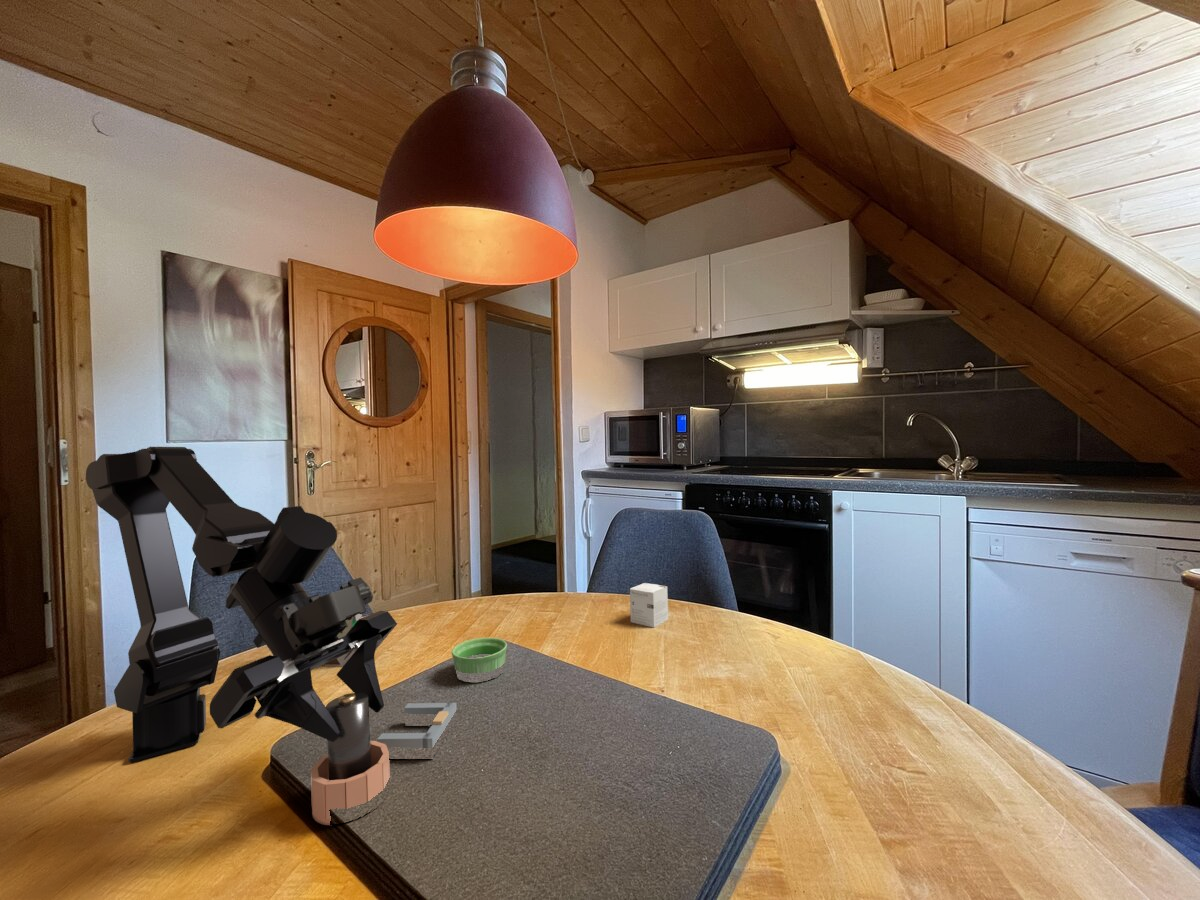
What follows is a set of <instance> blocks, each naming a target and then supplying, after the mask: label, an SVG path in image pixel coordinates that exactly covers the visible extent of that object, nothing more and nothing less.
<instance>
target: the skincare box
mask: <svg viewBox="0 0 1200 900" xmlns="http://www.w3.org/2000/svg"><path fill="white" fill-rule="evenodd" d="M668 592H669V591H668V586H666V585H660V584H657V583H648V582H643V583H641V584H638V585H636V586H633V587H631V588H629V607H630V608H629V609H630V613H629V614H630V623H632V624H637V625H641V626H646V627H650V628H657V627H658V626H660V625H661V624H663V623H665V622H667V621H669V612H668V611H669V605H668V604H669V603H668V602H669V601H668Z"/></svg>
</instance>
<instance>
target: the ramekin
mask: <svg viewBox="0 0 1200 900" xmlns="http://www.w3.org/2000/svg"><path fill="white" fill-rule="evenodd" d="M507 649H508V644H507V642H506V641H505V640H504V639H502V638H498V637H476V638H472V639H471V638H470V639H467V640H465V641H463V642H460V643H458V644H456V645H455V646H454V647H453V648H452V650H451V656H452V659H453V665H454V669H455V668H456V670H458V671H459V672H462V673H469V674H470V673H476V674H478V673H485V672H490V671H493V670H495V669H497V668H499V667H501V666H502V665H503V664H504V663H505V664H506V652H507ZM479 654H492V655H488V656H484V657H476V658H467V657H469V656H472V655H479Z"/></svg>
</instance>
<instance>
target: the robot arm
mask: <svg viewBox="0 0 1200 900" xmlns="http://www.w3.org/2000/svg"><path fill="white" fill-rule="evenodd" d="M85 482H86V485H87V487H88V488H89V489H91V491H92V493H93V497H94V499H95V503H96V506H98V507H99V508H100V509H102V510H103V511H104V512H105V513H106V514H108V515H109V516H111V517H112V518H113V519H115V520H117V522H118V527H119V530H120V535H121V540H122V545H123V548H124V554H125V559H126V562H127V568H128V572H129V578H130V581H131V588H132V590H133V596H134V601H135V605H136V609H137V614H138V619H139V624H140V628H139V630H138V632H137V634H136V635H135V638H134V639H133V642H132V644H131V646H130V648H129V649H128V653H127V654H128V664H129V666H128V667H127V668H126V670H125V672H124V673H123V675H122V677H121V678H120V680H119V681H118V683H117V685H116V686H115V688H114V690H113V695H114V699H115V705H116V708H118V709H122V710H124V711H128V712H131V713H132V716H131V717H132V718H131V719H132V751H131V753H130V755H129V758H128V762H129V763H134V762H139V761H142V760H145V759H149V758H152V757H157V756H159V755H163V754H166V753H170V752H174V751H177V750H181V749H184V748H187V747H191V746H194V745H197V744H198V743H199V742H200V736H201V734H202V733H203V732H204V731H205V729H206V725H207V709H206V708H207V707H206V706H207V705H206V704H207V702H206V694H204V693H203V694H201V688H203V687H206V686H208V685H212V684H214V683H215V679H216V675H217V670H218V666H219V661H220V657H221V650H220V647H219V643H218V641H217V639H216V636H215V632H214V625H213V622H212V620H211V619H210V618H209V617H208V616H205V617H202V618H200V617H199V616H198V615H196V614H195V613H194V612H192V611H191V610H190V607H189V603H188V599H187V594H186V589H185V586H184V582H183V581H184V580H183V578H182V574H181V569H180V565H179V561H178V557H177V556H178V555H177V553H176V548H175V544H174V539H173V534H172V531H171V527H170V522H169V517H168V514H167V513H168V512H167V507H168V506H169V504H171V505H172V506H173V508H174V509H175V510H176V511H177V512H178V514H179V515H180V516H181V517H182V518H183V519H184V520H185V522H186V523H187V524H188V525H189V527H190V528H191V529H192V532H193V533H194V535H195V537H194V540H193V544H192V547H191V550H192V552H193V554H194V556H195V557H196V562H198V565H199V566H200V567H201V568H202V569H203V571H204V572H205V573H206V574H208V575H209V576H211V577H214V578H215V577H223V576H228V575H233V574H237V573H241V572H243V573H241V575H240V576H239V577H238V579H237V580H236V581H235V582H233V583H231V584H230V585H229V593H228V595H227V597H226V599H225V608H226V609H228V610H231V609H233V608H236V607H238V608H239V607H240V608H241V609H242V611H243V612H244V613H245V615H246V616H247V618H248V620H249V621H250V623H251V624H252V626H253V627H254V629H255V630H256V632H257V635H256V636H255V638H253V640H252V642H253V643H254V646H255V647H256V648H257V649H260V648H261V647H264V646H267V648H268V650H269V651H270V653H271V655H270V654H269V655H267V656H264V657H262V658H259V659H257V660H254V661H251V662H249V663H246V664H244V665H242V666H239V667H236V668H234V669H233V670H232V671H231V673H230V674H229V675H228V677H227V678H226V679H225V681H224V682H223V684H222V685H221V686H220V687H219V689H218V690H217V692H216V693H215V694H214V696H213V697H212V698H211V700H210V703H209V716H210V717H211V718H212V720H213V722H214V724H215V725H216V727H217V729H224V728H226V727H228V726H230V725H232V724H234V723H236V722H238V721H240V720H242V719H243V718H246V717H248V716H249V715H251V713H252V712H253V711H254V708H255V706H256V703H259V706H260V707H259V708H258V709H257V710H256V711H255V713H254V717H255V718H256V719H257V720H259V719H261V718H263V717H268V718H271V719H275V720H277V721H281V722H284V723H286V724H290V725H293V726H295V727H298V728H300V729H303V730H305V731H306V732H309V733H312V734H314V735H315V736H318V737H320V738H323V739H325V740H326V741H327V740H329V741H331V742H334V741H336V740H337V739H338V738H339V736H340V735H341V733H340V731H339V729H338V727H337V725H336V723H335V721H334V719H333V717H332V716H331V714H330V713H329V711H328V710H327V708H326V704H324V703H323V700H321V698H320V697H319V695H318V694H317V691H315V688H314V687H313V681H312V680H313V679H312V670H315V669H316V668H319V667H322V666H321V665H323V664H325V663H328V662H330V661H332V660H334V659H336V658H337V660H338V661H339V663H340V664H341V665H342V666H341V668H340V669H339V670H338V671H337V673H336V676H337V677H338V678H339V680H341V681H342V682H343V683H344V684H345V685H346V686H347V688H349V689H350V690H351V691H352V693H365V694H367V695H368V704H369V709H371V710H372V711H373V712H375V713H376V714H377V713H379V712H381V711H382V709H383V708H384V706H385V703H384V699H383V695H382V691H381V686H380V682H379V681H380V680H379V678H378V673H377V668H376V662H375V661H376V660H375V654H376V650H377V649H378V648H379V647H380V645H381V644H382V643H383V641H385V640H386V638H387V637H388V636H389V634H391V632H392V631H393V630H394V629H395V628H396V626H397V625H398V623H397V621H396V620H395V619H394V617H393V616H392V615H391V613H390V612H389V611H386V610H385V611H384V610H379V611H376V612H373V613H371V614H368V615H366V616H362V617H361V618H360V619H359V620H358V621H357V622H356V623H355V624H354V626H353V627H352V628H351V629H350V631H349V632H348V633H347V634H346V636H344V637H341V638H339V639H338V636H337V635H338V634H339V633H340V632H342V631H343V630H344V629H345V628H346V627H347V625H348V624H347V623H346V620H348V619H349V618H351V617H353V616H355V615H357V614H362V615H363V614H364V613H365V614H366V613H367V612H368V610H367V606H366V605H368V604H370V603H371V602H373V598H374V596H373V593H372V589H371V588H370V586H369V585H368V583H367V582H365V581H364V579H363V578H362V577H357V578H353V579H351V580H348V581H347V582H345V583H344V584H341V585H340V586H339V590H335V591H332V592H329V593H327V594H325V595H321V594H319V593H318V594H315V595H312V596H310V595H309V594H308V592H307V591H306V590H305V588H304V586H303V585H302V583H304V582H306V581H307V580H308V579H310V578H311V577H312V576H313V575H314V573H315V571H316V570H317V568H318V567H319V566H320V565H321V563H322V562H323V561H324V559H325V557H327V555H328V553H329V551H331V549H332V548H333V546H334V544H335V543H336V541H337V539H338V532H337V529H336V527H335V526H334V524H333V523H332V522H331V521H327V520H326V519H325V518H323V517H321V516H319V515H317V514H314V513H312V512H311V513H310V512H306V511H305V509H304V508H303V507H302V506H301V505H296V506H286V507H282V508H281V511H280V512H279V513H278V515H277V518H276V519H275V522H273V521H271V520H270V519H269V518H267V517H266V516H264V515H263V514H261V513H260V512H259V511H256V510H252V509H249V508H246V507H243V506H240V505H239V504H237V503H236V502H235V501H234V500H233V499H232V497H230V496H229V495H228V494H227V492H226V491H225V490H224V489H223V488H222V487H221V486H220V485H219V484H218V483H217V481H215V479H214V478H213V477H212V476H211V475H210V474H209V472H208V471H206V470H205V468H204V467H203V465H201V464H200V463H199V462H198V459H197V455H196V453H195V451H194V450H193V449H192V448H187V447H186V446H148V447H147V448H141V449H138V450H136V451H132V452H131V451H130V452H125V453H124V452H123V453H102V454H101V455H100V456H98V458H97V460H94V461H91V462H90V463H88V465H87V468H86V470H85ZM327 652H329V653H327ZM326 653H327V654H326Z"/></svg>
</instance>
